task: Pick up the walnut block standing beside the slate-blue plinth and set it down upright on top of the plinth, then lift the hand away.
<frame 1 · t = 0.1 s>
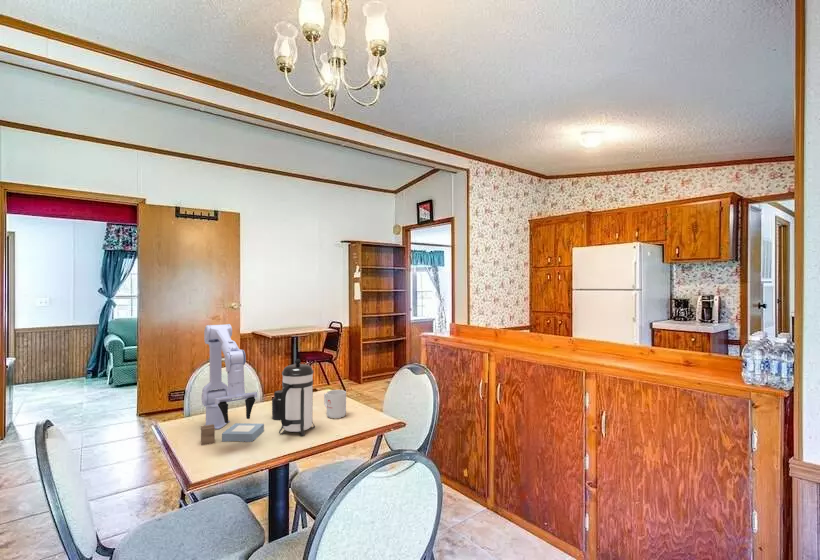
hand: (237, 420, 154), 11 cm above the table, tool pointing down, fingers open, 7 cm apart
mug: (333, 416, 194), on the table
walnut block: (207, 442, 161), on the table
coffee press: (296, 432, 172), on the table
supplement bottle: (279, 418, 190), on the table
slate plinth: (243, 435, 167), on the table
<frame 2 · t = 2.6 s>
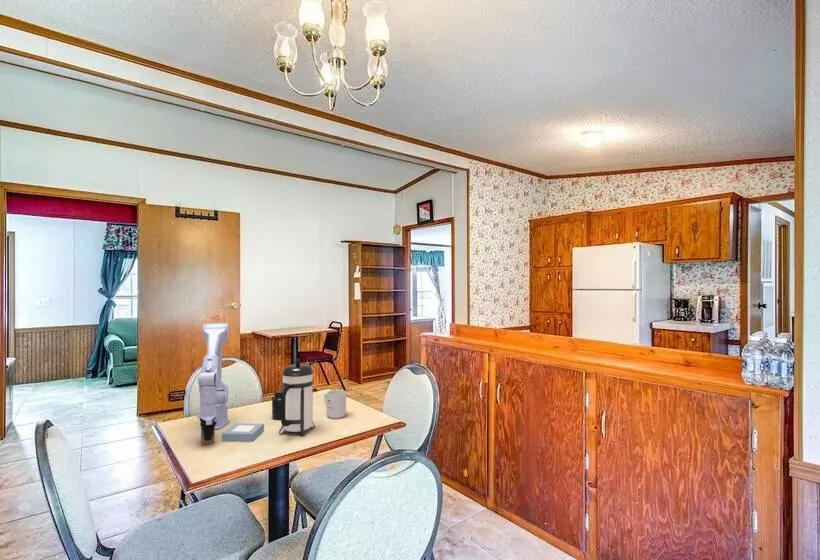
hand: (207, 438, 161), 2 cm above the table, tool pointing down, fingers closed on walnut block, 4 cm apart
walnut block: (207, 442, 161), on the table, touching gripper
everything else where it was.
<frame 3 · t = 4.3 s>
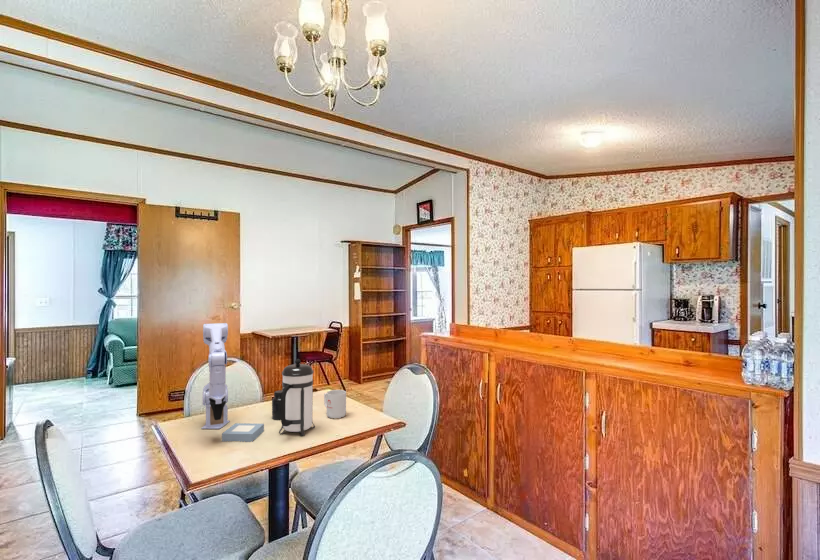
hand: (217, 417, 162), 9 cm above the table, tool pointing down, fingers closed on walnut block, 4 cm apart
walnut block: (216, 422, 162), point 7 cm above the table, touching gripper
everything else where it was.
when the fingers open (6 cm above the table, at t = 5.9 s): walnut block stays where it is, resting on slate plinth.
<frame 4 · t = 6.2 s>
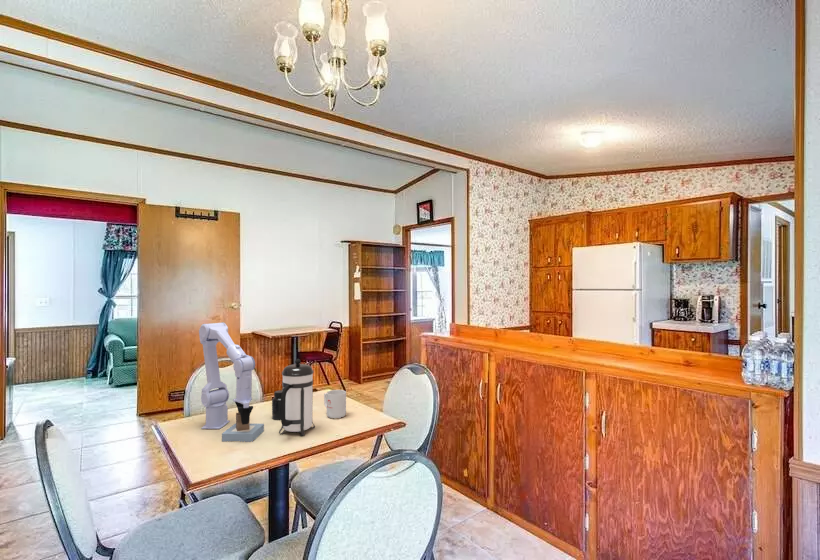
hand: (243, 421, 167), 6 cm above the table, tool pointing down, fingers open, 7 cm apart
walnut block: (242, 428, 167), point 3 cm above the table, touching slate plinth
everything else where it was.
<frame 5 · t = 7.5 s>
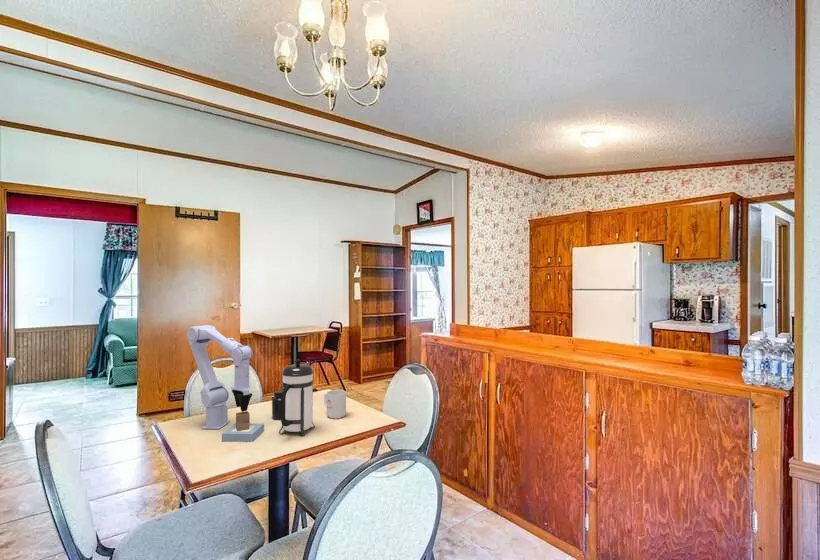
hand: (241, 408, 172), 9 cm above the table, tool pointing down, fingers open, 7 cm apart
nothing on the table moved.
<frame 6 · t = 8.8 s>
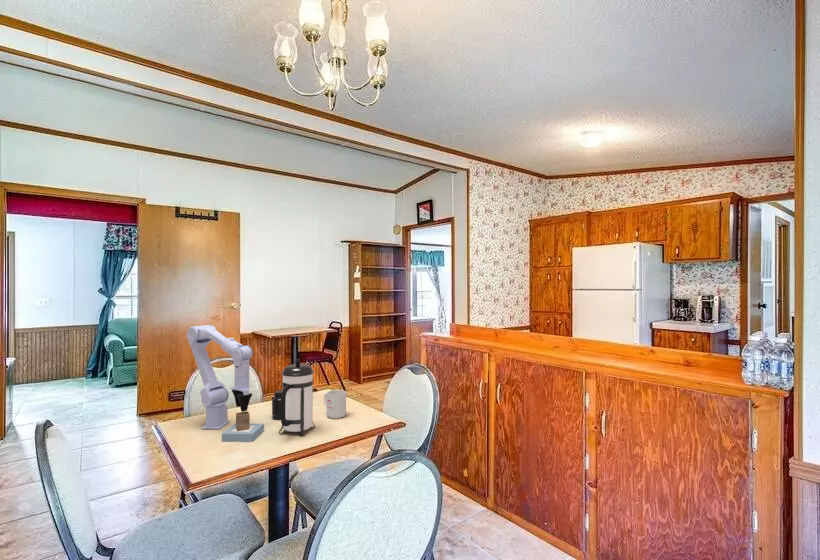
hand: (241, 408, 172), 9 cm above the table, tool pointing down, fingers open, 7 cm apart
nothing on the table moved.
at the end: walnut block inside the target area on the slate plinth (0.4 cm from its centre), point 3.0 cm above the slate plinth's base; walnut block tilted 0°; the gripper is holding nothing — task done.
